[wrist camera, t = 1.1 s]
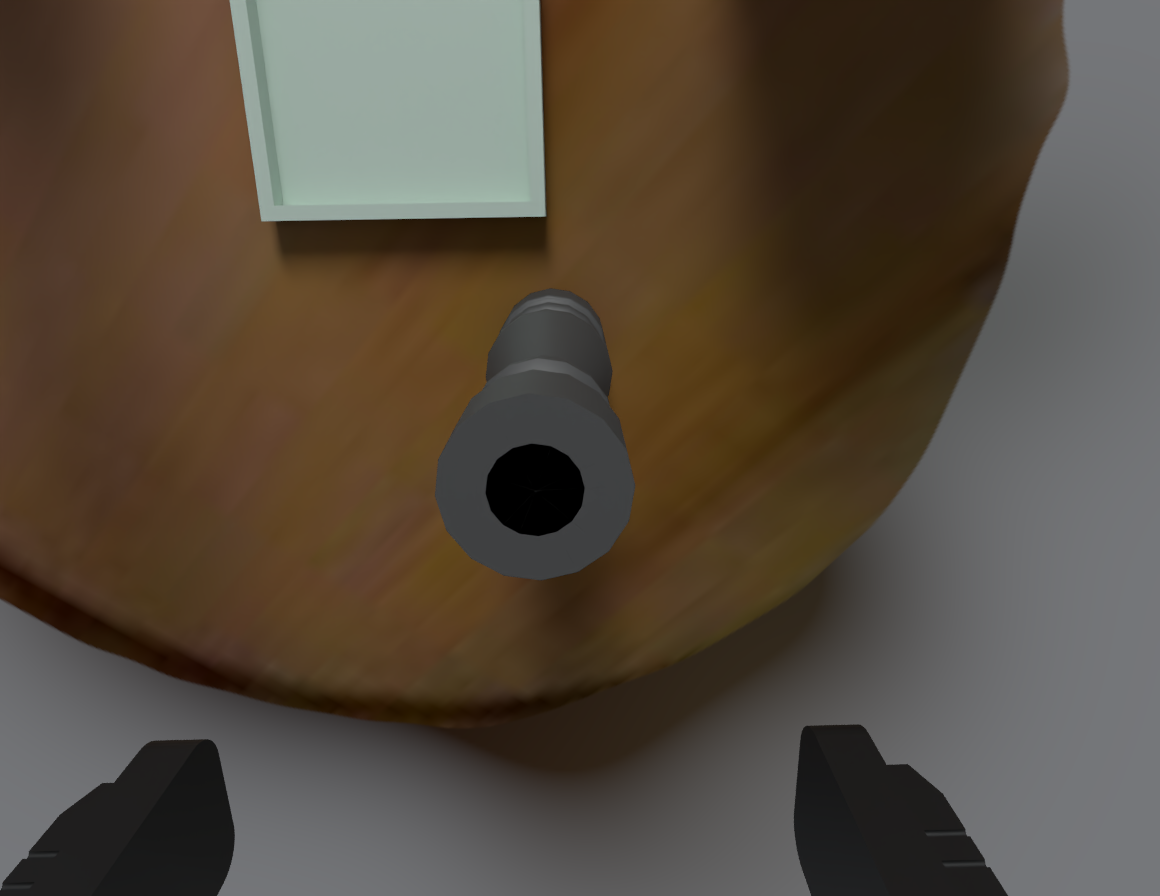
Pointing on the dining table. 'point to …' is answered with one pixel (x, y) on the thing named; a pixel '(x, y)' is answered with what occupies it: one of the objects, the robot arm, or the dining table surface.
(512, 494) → the candle holder
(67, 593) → the dining table surface
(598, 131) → the dining table surface
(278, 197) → the tray
